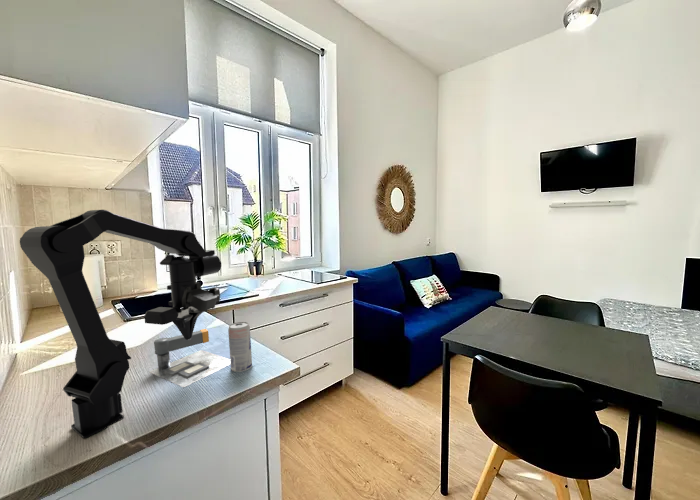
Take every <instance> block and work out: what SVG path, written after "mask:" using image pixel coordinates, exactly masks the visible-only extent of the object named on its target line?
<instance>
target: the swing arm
mask: <svg viewBox="0 0 700 500" xmlns="http://www.w3.org/2000/svg"><path fill="white" fill-rule="evenodd" d="M205 343H210V336H209V330H208V329H207V328H202V329H199V330H196V331H193V334H192V337H191V339H189V340H186V339H185V338H184V336H183V335H182V334H179V335H176V336H171V337H160V338H158V339H155V340H154V341H153V345H154V347H153V349H154V354H155V355H156V356H157V355H161V354H165V353H168V352H169V353H170V352H174V351H177V350H181V349H184V348H187V347H192V346H195V345H200V344H205Z"/></svg>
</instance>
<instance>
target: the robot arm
mask: <svg viewBox="0 0 700 500" xmlns="http://www.w3.org/2000/svg"><path fill="white" fill-rule="evenodd" d="M103 233H106V234H111V235H115V236H118V237H123V238H127V239H130V240H135V241H139V242H143V243H147V244H150V245H153V246H154V247H155V248H157V249H158V250H160V251H163V252H166V253H167V254H166V256H165V257H164V258H163V259H162V260H161V261H160V262H159V264H160V265H161V266H163V265H164V266H168V269H169V270H168V272H169V279H170V280H169V281H170V284H169V285H166V290H167V291H170V292H171V294H170V295H171V300H170V301H168V302H167V303H168V306H170V307H165V306H164V307H163V306H158V307H156V308H152V309H150V310H147V311H146V312H145V314H144V323H145V324H150V325H151V324H152V325H161V326H163V325H167V324H171V323H173V325H175V327H176V328H177V329H178V331H179V332H180V333H181V334H180V335H183V336H184V338H185V339H186V340H189V339H191V337H192V334H193V332H194V330H195V326H196V324H197V320H198V318H199V317H200V316H201V314H202V313H203V314H204V313H205V312H208V311H209V310H211V309H215V308H216V306H217V305H218V304H220V301H221V293H220V289H219V288H218V287H217V286H214V287H211V288H209V289H202V285H201V282H199V281H198V282H197V277H204V276H209V275H214V274H218V273H219V272H220V271H221V268H222V261H221V259H220V257H219V256H218V254H216V253H215V252H216V250H215V249H207V250H205V248H204V247H203V246H202V244H201V243H200V242H199V241H198V239H197V236H196V234H195V233H194V232H192V231H190V230H181V229H172V228H171V229H169V228H163V227H158V226H155V225H152V224H149V223H146V222H142V221H140V220H135V219H134V218H133V219H132V218H130V217H127V216H122V215H120V214H117V213H113V212H111V211H109V210H108V209H91V210H87V211H85V212H84V213H81V214H78V215H77V216H73V217H71V218H69V219H65V220H61V221H59V222H56V223H53V224H52V225H50V226H49V225H48V226H47V225H46V226H42V225H41V226H35V227H32V228H28V230H26V231H24V232H23V235H22V236H21V237H20V239H19V245H20V248H21V250H22V251H23V254H25V256H26V257H27V258H28V260H29V261H30V262H31V264H32V265H33V266H34V267H35V268H36V269H37V270H39V271H40V273H42V274H43V275H44V276H45V277H46V278H47V280H48V281H49V284H50V286H51V289H52V290H53V291H52V292H53V294H54V295H55V298H56V301H57V302H58V304H59V307H60V309H61V311H62V314H63V316H64V318H65V321H66V323H67V326H68V328H69V330H70V332H71V334H72V336H73V340H74V341H75V343H76V351H75V357H74V363H75V368H76V369H75V370H76V371H75V372H74V373H73V375H72V376H71V377H70V379H69V380H68V382H67V383H66V384H65V385H64V386H63V391H64V393H65V394H66V396H67V397H72V399H71V407H72V414H73V422H74V423H72V424H71V429H72V430H73V431H74V432H75V433H77V434H78V435H79V436H80V437H81V438H82V439H88V438H89V437H91V436H93V435H95V434H98V433H99V432H101V431H103V430H105V429H107V428H108V427H109V426H112V425H113V424H115V423H117V422H119V421H121V420H123V419H124V418H125V417H124V416H125V415H123V414H122V413H123V404H122V395H121V392H122V390H123V385H124V382H125V378H126V375H127V372H128V371H129V370H130V362H129V360H131V359H132V357H131V355H129V354H128V351H127V346H126V343H125V341H121V340H116V339H111V338H109V336H108V334H107V332H106V329H105V326H104V323H103V321H102V319H101V316H100V313H99V310H98V309H97V306H96V304H95V300H94V299H93V296H92V293H91V291H90V289H89V285H88V283H87V280H86V279H85V276H84V272H83V267H84V263H85V258H86V256H85V255H86V254H85V249H84V246H85V245H86V244H89V243H91V242H92V241H95V239H97V238H98V237H99V236H101V235H102V234H103ZM175 255H177V256H175Z"/></svg>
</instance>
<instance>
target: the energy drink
mask: <svg viewBox="0 0 700 500" xmlns="http://www.w3.org/2000/svg"><path fill="white" fill-rule="evenodd" d="M227 329H228V347H229V359H230V362H231V364H230V370H231V371H232V372H234V373H242V372H246V371H248V370H249V369H251V368H252V367H253V358H252V357H253V356H252V339H251V327H250V323H249V322H247V321H237V322H234V323H231V324H229V325H228V328H227Z"/></svg>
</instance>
